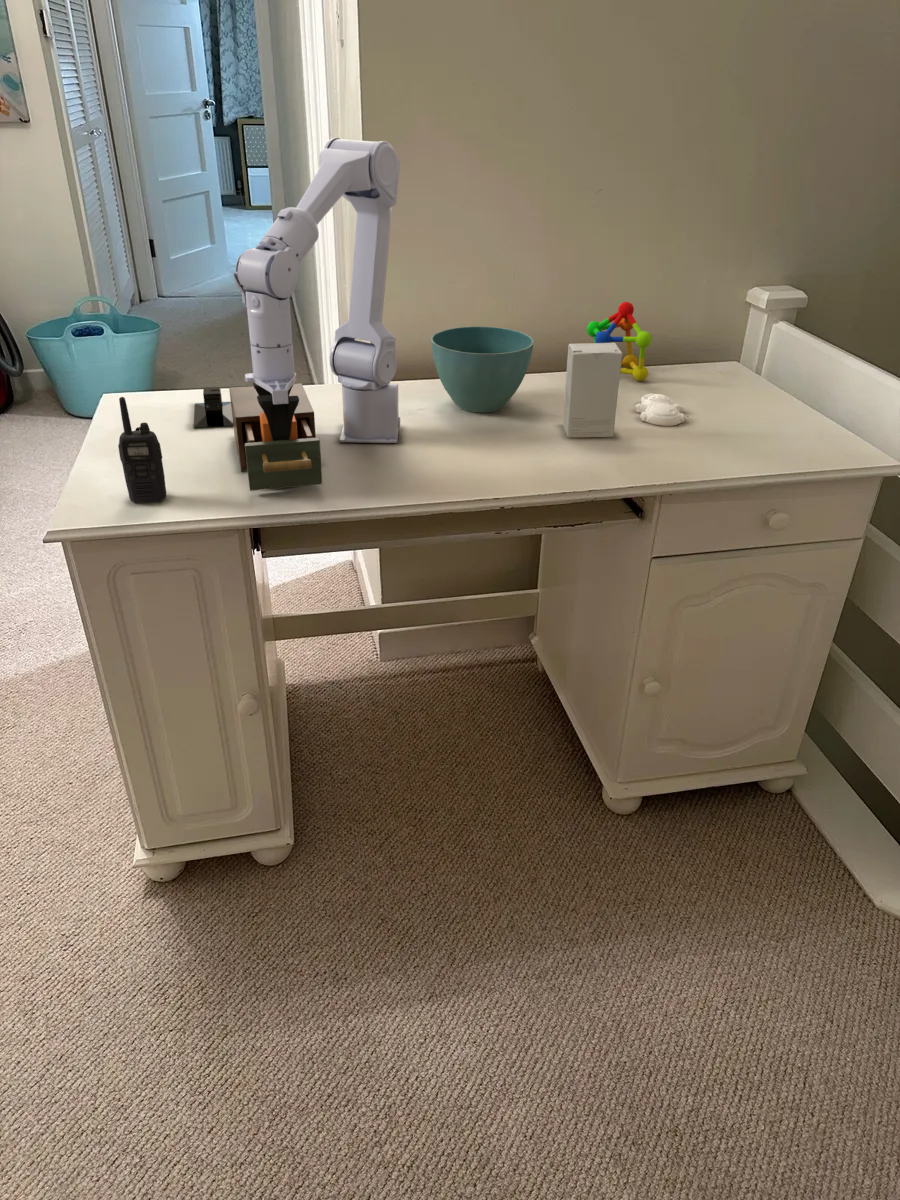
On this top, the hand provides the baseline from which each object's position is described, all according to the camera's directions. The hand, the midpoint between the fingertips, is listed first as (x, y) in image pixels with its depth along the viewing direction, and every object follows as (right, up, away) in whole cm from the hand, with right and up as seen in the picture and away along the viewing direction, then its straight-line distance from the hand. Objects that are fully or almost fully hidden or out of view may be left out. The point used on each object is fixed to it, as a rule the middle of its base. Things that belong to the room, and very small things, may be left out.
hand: (279, 436), depth 125 cm
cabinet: (-3, 0, +13) cm, 13 cm away
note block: (0, -1, +1) cm, 1 cm away
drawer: (0, -6, +2) cm, 6 cm away
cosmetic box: (+49, +5, +24) cm, 54 cm away
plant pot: (+30, +12, +34) cm, 47 cm away
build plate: (-16, +8, +26) cm, 32 cm away
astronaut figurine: (+63, +10, +32) cm, 72 cm away
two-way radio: (-18, -9, -3) cm, 20 cm away
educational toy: (+59, +22, +52) cm, 82 cm away
